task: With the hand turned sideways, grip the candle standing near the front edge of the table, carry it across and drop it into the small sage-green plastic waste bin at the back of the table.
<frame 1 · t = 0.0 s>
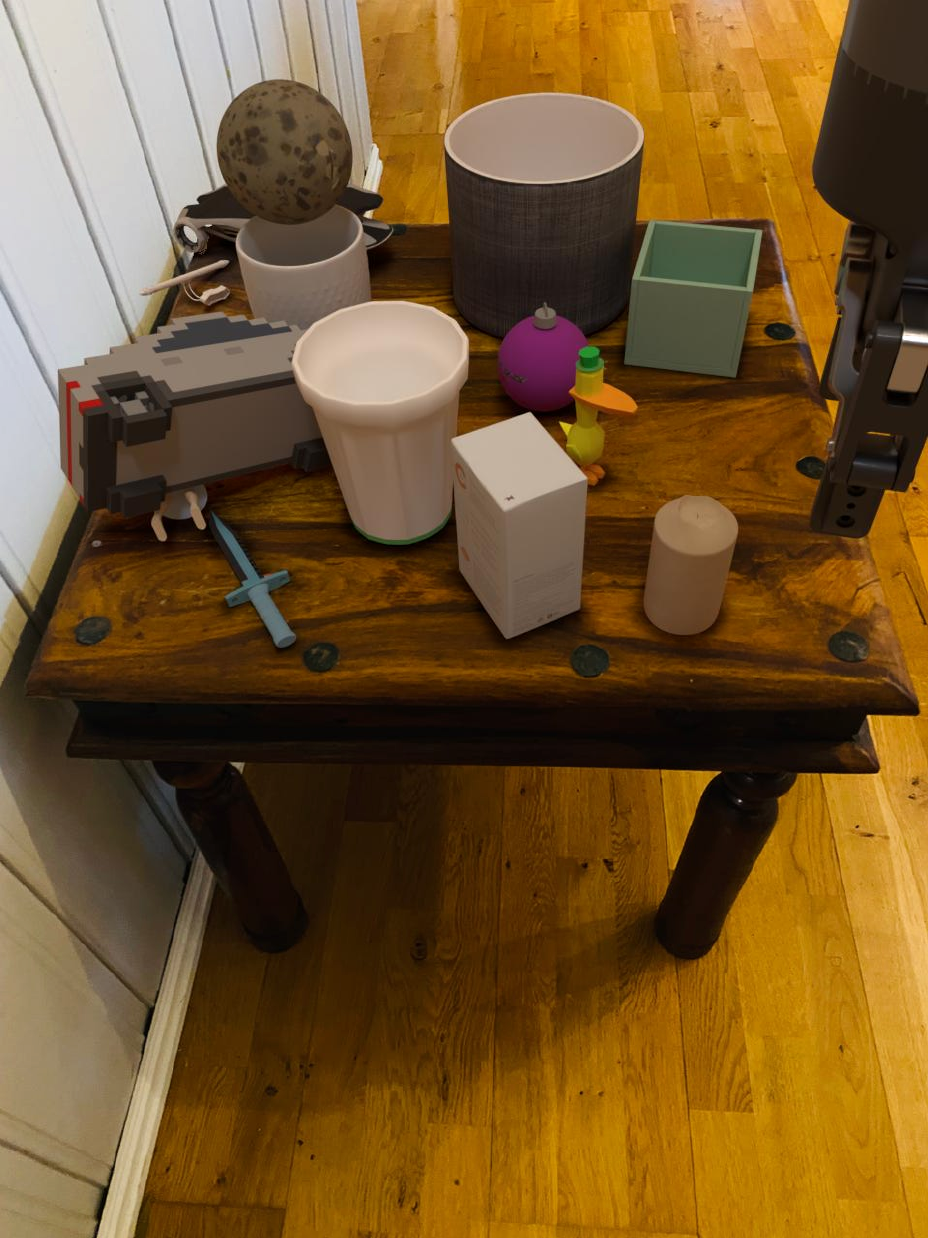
hand: (840, 458, 41), 28 cm above the table, tool pointing down, fingers open, 8 cm apart
mug: (328, 356, 95), on the table, touching decorative egg
candle: (680, 609, 73), on the table
knife: (214, 584, 76), on the table
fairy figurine: (178, 527, 75), point 4 cm above the table, touching toy car
planter: (540, 294, 100), on the table
decorative egg: (306, 161, 76), point 21 cm above the table, touching mug
christmas ornament: (543, 403, 89), on the table
cup: (401, 510, 81), on the table
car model: (281, 201, 104), point 5 cm above the table
toy car: (248, 447, 75), point 7 cm above the table, touching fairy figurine
waste bin: (686, 339, 94), on the table
small box: (518, 591, 75), on the table
picture light: (201, 279, 100), point 2 cm above the table
toy figure: (590, 479, 82), on the table
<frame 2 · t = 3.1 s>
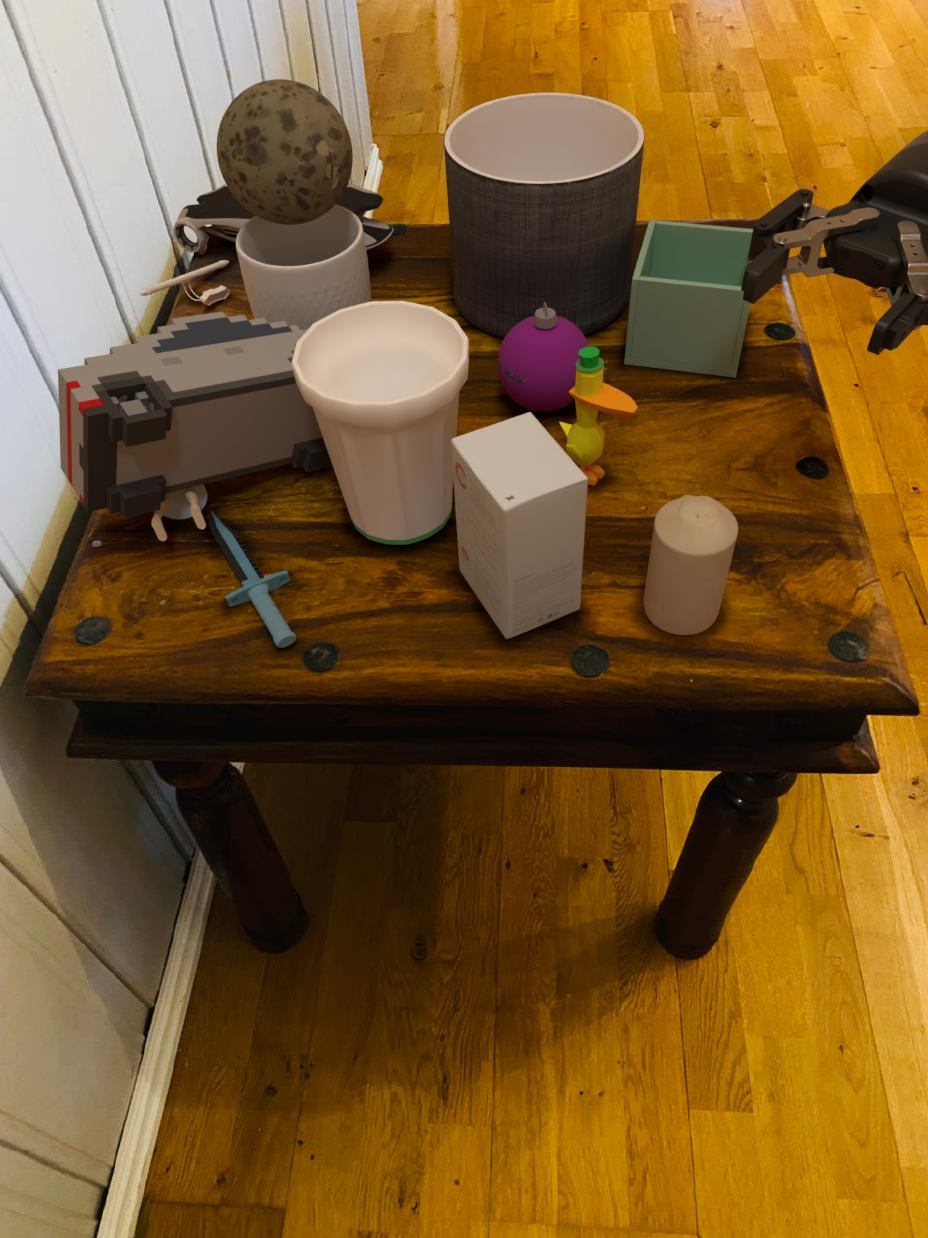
hand: (810, 314, 60), 21 cm above the table, tool horizontal, fingers open, 8 cm apart
nothing on the table moved.
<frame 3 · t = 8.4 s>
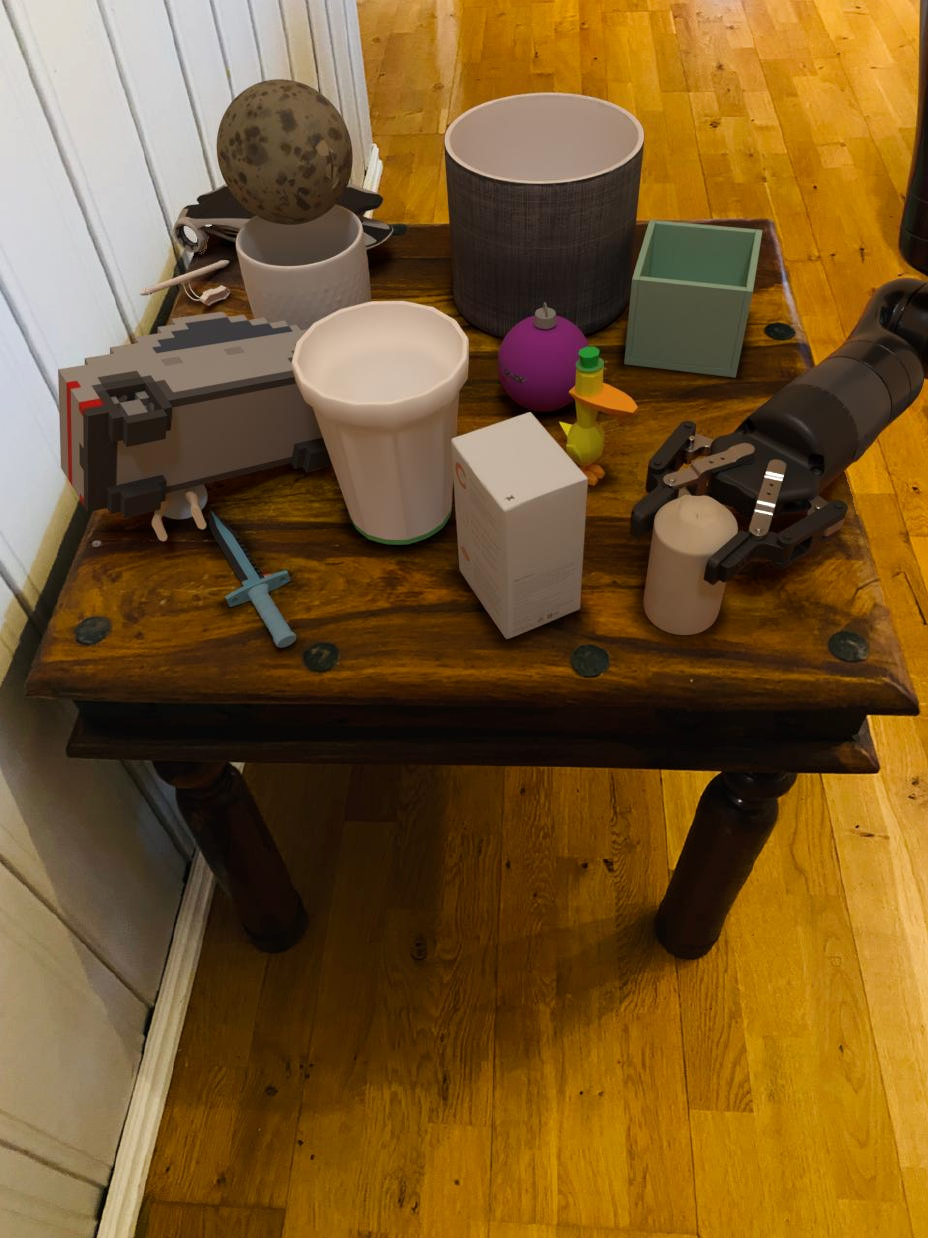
hand: (672, 550, 65), 8 cm above the table, tool horizontal, fingers closed on candle, 5 cm apart
candle: (680, 609, 73), on the table, touching gripper
everything else where it was.
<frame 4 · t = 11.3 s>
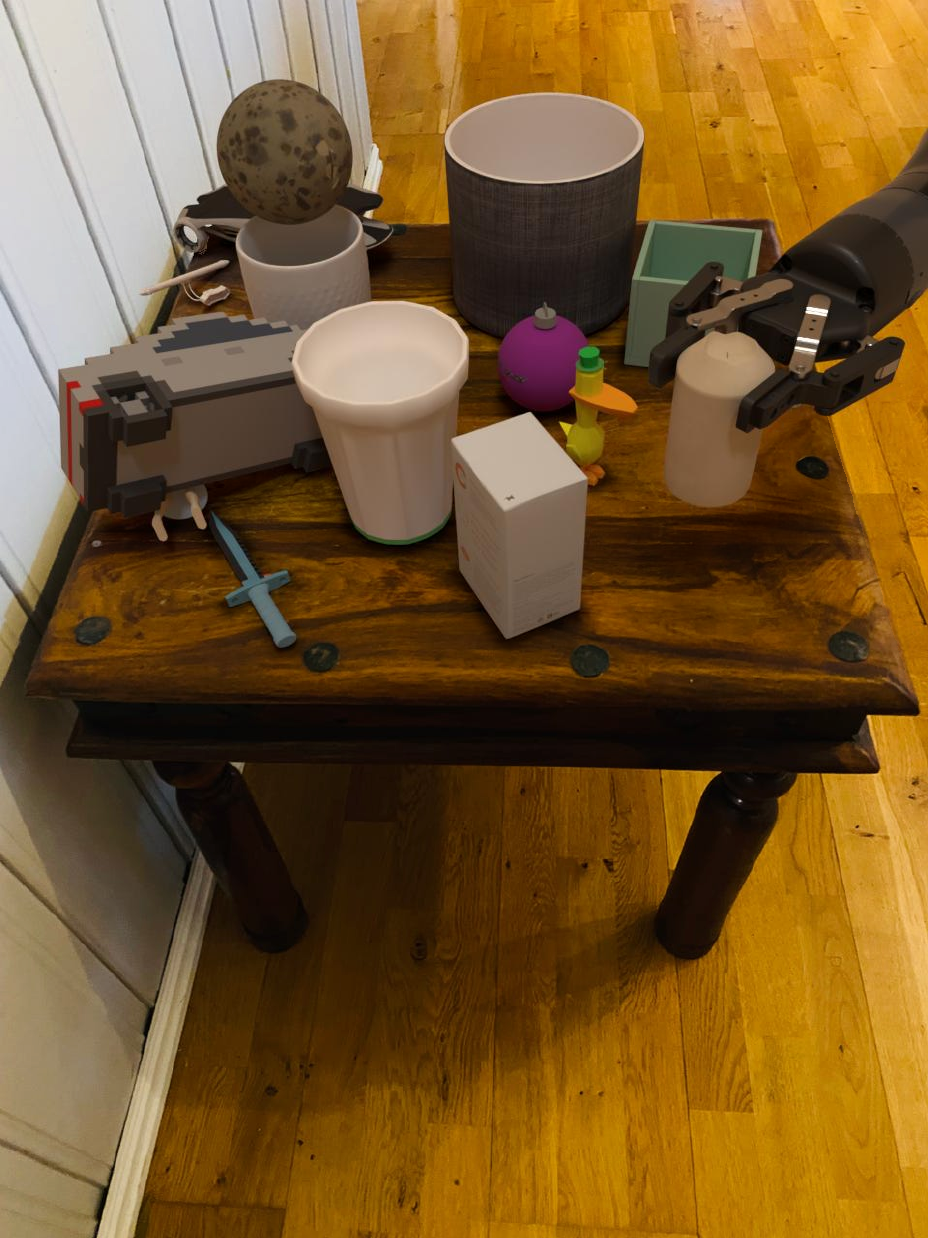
hand: (698, 394, 56), 21 cm above the table, tool horizontal, fingers closed on candle, 5 cm apart
candle: (706, 481, 63), point 12 cm above the table, touching gripper
everything else where it was.
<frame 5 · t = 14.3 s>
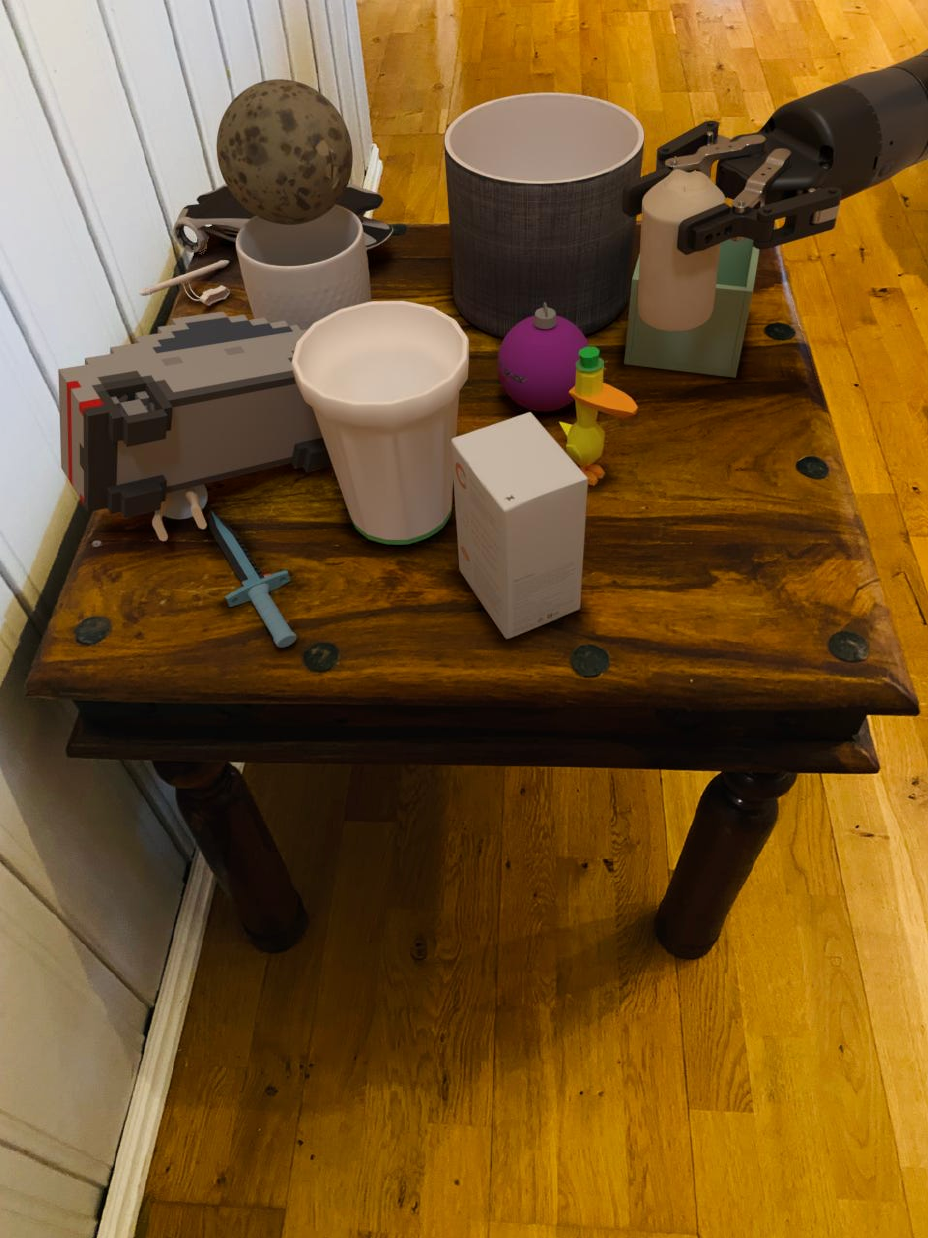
hand: (653, 220, 66), 22 cm above the table, tool horizontal, fingers closed on candle, 5 cm apart
candle: (674, 312, 73), point 14 cm above the table, touching gripper
everything else where it was.
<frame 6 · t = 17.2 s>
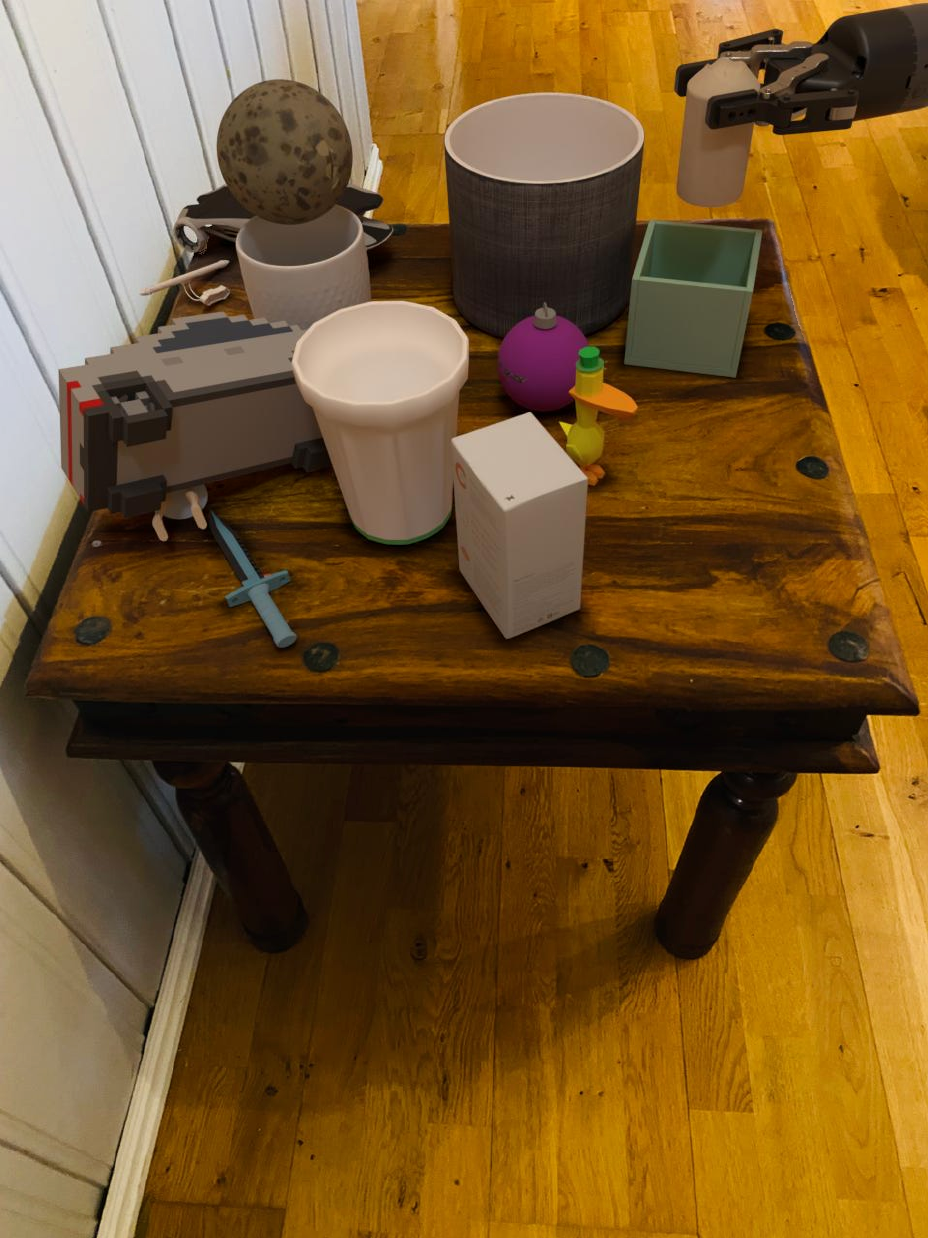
hand: (692, 97, 76), 22 cm above the table, tool horizontal, fingers closed on candle, 5 cm apart
candle: (708, 194, 83), point 14 cm above the table, touching gripper
everything else where it was.
when the fingers open (15 cm above the table, at t = 20.0 s): candle drops 6 cm, resting on waste bin.
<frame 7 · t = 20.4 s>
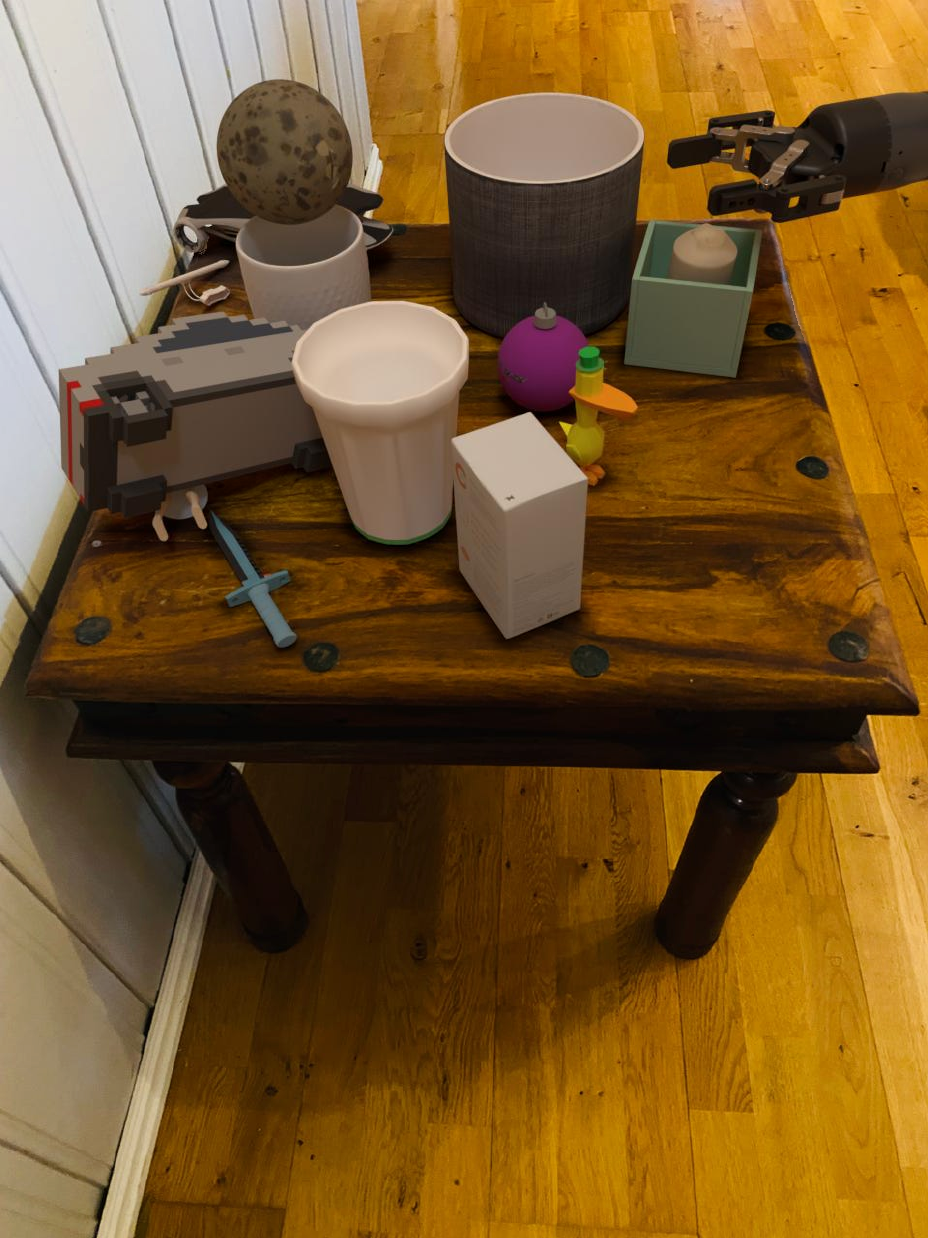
hand: (688, 177, 81), 16 cm above the table, tool horizontal, fingers open, 8 cm apart
candle: (687, 330, 93), point 1 cm above the table, touching waste bin
everything else where it was.
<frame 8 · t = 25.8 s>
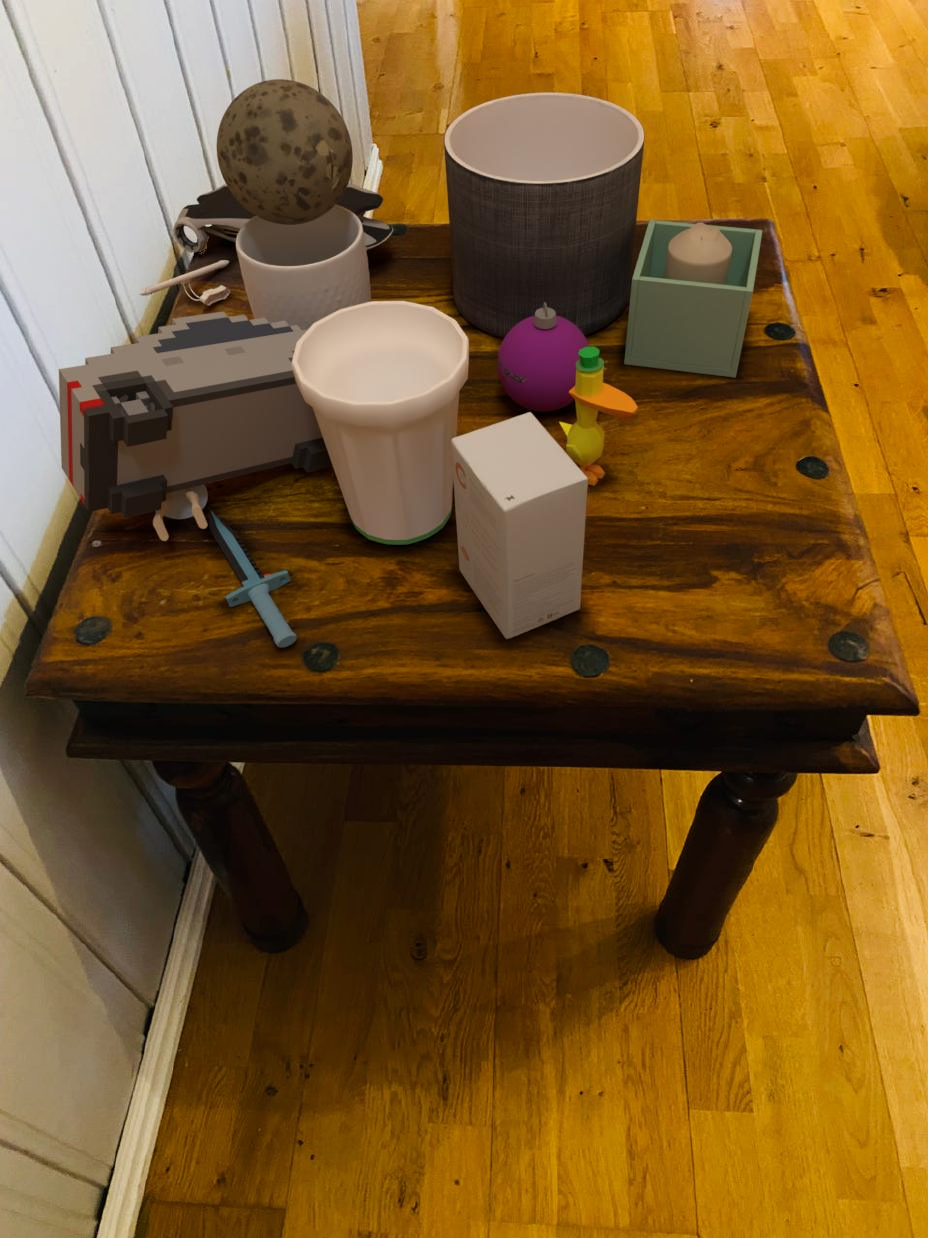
nothing on the table moved.
at the end: candle inside the target area in the waste bin (0.2 cm from its centre), point 0.6 cm above the waste bin's base; the gripper is holding nothing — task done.
